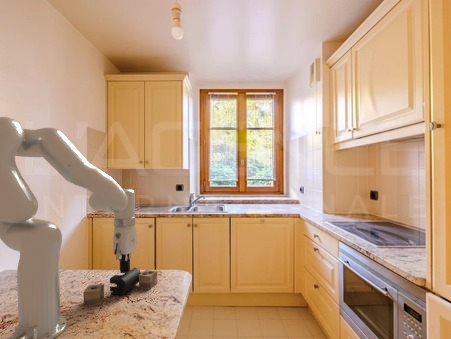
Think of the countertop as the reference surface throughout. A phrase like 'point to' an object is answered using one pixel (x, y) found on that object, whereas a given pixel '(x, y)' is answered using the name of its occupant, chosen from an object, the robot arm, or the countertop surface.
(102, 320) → the countertop surface
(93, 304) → the marked block
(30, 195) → the robot arm
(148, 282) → the marked block
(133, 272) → the black arched block
